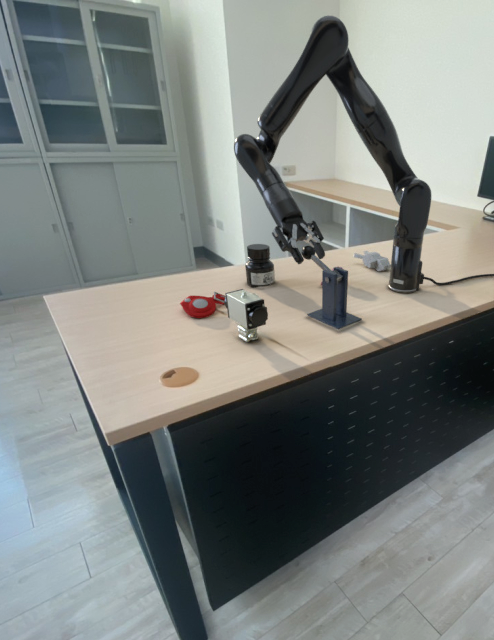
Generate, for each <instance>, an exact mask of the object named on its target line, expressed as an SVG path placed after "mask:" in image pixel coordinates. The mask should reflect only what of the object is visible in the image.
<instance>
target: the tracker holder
mask: <svg viewBox="0 0 494 640" xmlns="http://www.w3.org/2000/svg"><path fill="white" fill-rule="evenodd" d="M225 298H226V295H224V294H222V293H219V292H217V291H213V295H212V296H209V297H208V296H203V295H188V296H187V297H185V298H184V299H183V300H182V301H181V302H180V303H179V305H180V306H181V307H182V309H183V311H184V312H185V314H187V316H189V317H191V318H194V319H205V318H209V317H211V316H212V315H213V314H215V312H216V309H217V305H225V304H224V301H225Z"/></svg>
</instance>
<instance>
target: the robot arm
mask: <svg viewBox="0 0 494 640" xmlns="http://www.w3.org/2000/svg"><path fill="white" fill-rule="evenodd" d="M349 42H350V39H349V32H348V28H347V27H346V25H345V23H344V22H343V21H342V20H341V18H339V17H337V16H334V15H329V14H328V15H323V16H322V17H320V18H318V19H316V21H315V23H314V24H313V25H312V27H311V30H310V33H309V37H308V40H307V42H306V44H305V46H304V48H303V51H302V52H301V54H300V57H299V58H298V59H297V61H296V62H295V64H294V67H293V68H292V70H291V71H290V72H289V74H288V75H287V77H286V78H285V80H284V81H282V83H281V84H280V86H279V87H278V89H277V90H276V91H275V92H274V94H272V97H271V98H270V99H269V101H268V102H267V104H266V105H265V106H264V108H263V110H262V112H261V113H260V114H259V116H258V118H257V121H256V122H257V126H258V127H259V129H260V130H259V134H258V136H257V138H256V137H255V136H253V135H252V134H249V133H241V134H240V135H238V136H237V137H236V138H235V140H234V143H233V153H234V156H235V158H236V160H237V162H238V163H239V165H240V166H241V168H242V169H243V171H244V172H245V173H246V174H247V176H248V177H249V178H250V179H251V180H252V182H253V183H254V184H255V187H256V189H257V190H258V192H259V194H260V196H261V198H262V200H263V201H264V204H265V206H266V209H267V210H268V212H269V214H270V215H271V218H272V219H273V221H274V223H275V225H276V226H275V227H274V229H273V230H272V232H271V236H272V237H273V238H274V240H275V242H276V244H277V245H278V247H279V249H280V250H281V251H282V252H284V253H286V252H288V253H289V254H290V255H291V256H292V258H293V260H294V262H295V263H297V265H302V264H303V262H304V261H305V258H304V257H303V256H302V252H301V251H300V250H299V248H298V247H297V242H299V241H301V242H302V241H303V242H304V243H306V244H309V246H311V247H313V248H314V250H315V255H316V257H318V258H319V259H320V260H322V259H324V258H325V257H326V251H325V250H324V248H323V246H322V244H321V243H322V242H323V241H324V239H325V238H324V235H323V234H322V231H321V230H320V228H319V226H318V224H317V222H316V221H315V220H312V221H311V222H307V221H306V220H304V217H303V216H304V215H303V212H302V210H301V208H300V206H299V205H298V202H297V201H296V199H295V198H294V196H293V193H292V191H290V189H289V188H288V187H287V185H286V183H285V181H284V180H283V178H282V176H281V173H279V171H278V170H277V168H275V166H273V165H272V164H271V162H273V159H274V157H275V154H276V152H277V150H278V147H279V145H280V141H281V138H283V136H284V134H285V133H286V132H287V130H288V129H289V128H290V126H291V124H292V123H293V122H294V121H295V119H296V117H297V116H298V114H299V113H300V112H301V109H302V108H303V106H304V104H305V103H306V101H307V100H308V98H309V97H310V95H311V93H313V91H314V90H315V88H316V87H317V85H318V84H319V83H320V82H321V80H322V79H323V78H324V77H325V76H326V78H328V80H329V81H330V83H331V84H332V85H333V87H334V89H335V90H336V92H337V94H338V96H339V98H340V100H341V102H342V104H343V107H344V109H345V111H346V113H347V115H348V117H349V119H350V121H351V123H352V125H353V127H354V129H355V131H356V133H357V134H358V136H359V138H360V140H361V141H362V143H363V145H364V146H365V148H366V149H367V151H368V153H369V155H370V156H371V157H372V159H373V160H374V162H375V163H376V164H377V165H378V167H379V169H380V170H381V171H382V173H383V175H384V176H385V178H386V181H387V182H388V185H389V187H390V190H391V192H392V194H393V197H394V199H395V201H396V203H397V204H398V206H399V211H398V219H397V222H396V224H395V225H394V229H393V238H392V239H393V240H392V248H391V251H392V252H391V260H390V261H391V262H390V264H391V268H390V269H389V281H388V289H389V290H391V291H392V292H396V293H399V294H400V293H402V294H409V293H414V292H416V291H419V290H420V285H423V284H424V280H426V281H429V282H431V283H433V284H434V285H436V286H448V285H451V284H457V283H460V282H464V281H466V280H472V279H477V278H485V277H494V273H486V274H476V275H471V276H466V277H463V278H459V279H455V280H450V281H445V282H437V281H436V280H434V279H433V278H432V277H428V276H425V274H424V273H423V272H422V269H423V261H422V260H421V258H422V251H423V243H424V236H425V231H426V229H427V226H428V222H429V217H430V212H431V211H430V210H431V206H432V190H431V187H430V185H429V184H428V183H427V182H426V181H424V180H423V179H420V178H418V177H417V174H415V172H414V171H413V170H412V168H411V166H410V164H409V163H408V161H407V159H406V157H405V155H404V152H403V149H402V145H401V141H400V138H399V133H398V131H397V129H396V127H395V124H394V122H393V120H392V118H391V117H390V115H389V113H388V110H387V109H386V107H385V105H384V103H383V102H382V101H381V99H380V97H379V96H378V94H377V93H376V92H375V91H374V89H373V88H372V87H371V85H370V84H369V83H368V81H367V80H366V79H365V77H364V76H363V75H362V73H361V71H360V69H359V68H358V65H357V63H356V61H355V58H354V57H353V55H352V53H351V50H350V48H349Z"/></svg>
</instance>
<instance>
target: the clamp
mask: <svg viewBox="0 0 494 640" xmlns="http://www.w3.org/2000/svg"><path fill="white" fill-rule="evenodd" d="M338 267H339V266H334V267H333V268H334V270H337V271H338V272H339V273H340V274H341V275H342V276H343V278H342V280H341V283H340V284H337V274H335V273H333V272H330V271H327V270H322V271H321V272H322V273H321V275H322V277H321V279H322V280H321V282H322V285H321V286H322V287H321V288H322V289H321V293H322V294H321V296H322V297H321V301H322V302H321V308H320V309H317V310H314V311H311V312H309V313H307V314H306V316H308V317H310V318H313V319H314V320H317V321H319V322H320V323H324V324H325V325H328V326H330V327H332V328H334V329H336V330H341V329H343V328H346V327H348V326H350V325H353V324H356V323H357V322H360V321H362V319H363V318H361V317H358V316H357V315H355V314H352V313H350V312H347V311H348V285H349V270H346V269H344V268H343V269H341V268H338Z"/></svg>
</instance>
